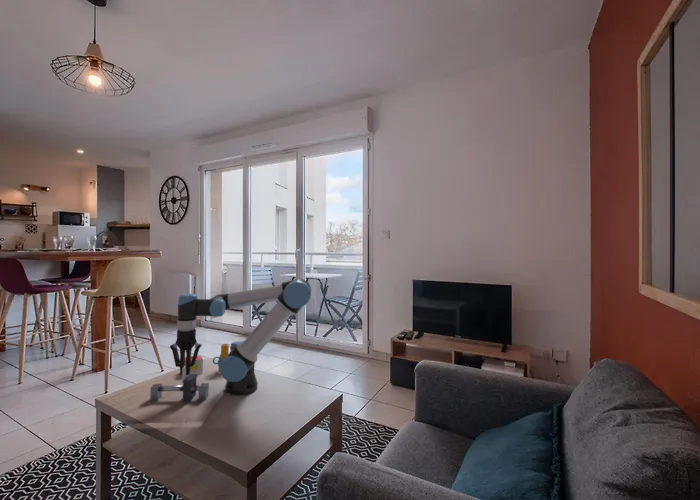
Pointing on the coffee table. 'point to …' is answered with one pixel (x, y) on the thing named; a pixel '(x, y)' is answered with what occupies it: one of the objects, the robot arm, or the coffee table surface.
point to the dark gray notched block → (189, 387)
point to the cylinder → (222, 355)
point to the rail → (158, 389)
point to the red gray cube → (196, 365)
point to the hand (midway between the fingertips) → (184, 381)
